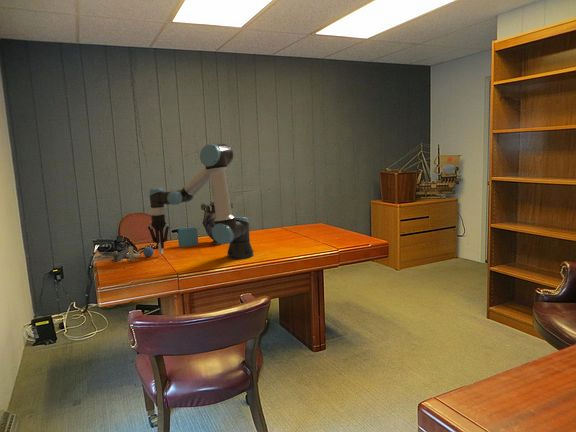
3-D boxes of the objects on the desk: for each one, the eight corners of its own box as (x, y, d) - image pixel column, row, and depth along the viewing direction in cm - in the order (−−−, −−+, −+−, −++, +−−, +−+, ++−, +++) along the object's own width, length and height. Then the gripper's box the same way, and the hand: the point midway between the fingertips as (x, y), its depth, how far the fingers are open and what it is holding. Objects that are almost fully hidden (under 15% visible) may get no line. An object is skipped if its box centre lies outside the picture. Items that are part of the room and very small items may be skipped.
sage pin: (134, 260, 246) (133, 246, 244) (133, 261, 243) (131, 247, 242) (130, 260, 246) (129, 246, 245) (129, 261, 243) (127, 247, 242)
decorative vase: (233, 238, 300) (230, 199, 295) (237, 244, 282) (234, 202, 278) (202, 241, 294) (199, 201, 290) (204, 247, 276) (201, 204, 272)
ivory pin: (140, 252, 253) (127, 252, 254) (138, 255, 251) (125, 255, 252) (141, 255, 254) (128, 255, 256) (140, 258, 252) (127, 258, 254)
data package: (196, 244, 287) (195, 226, 285) (198, 245, 283) (197, 227, 281) (178, 246, 281) (177, 228, 279) (180, 247, 277) (179, 229, 275)
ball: (144, 247, 256) (146, 257, 256) (140, 248, 250) (142, 258, 250) (154, 245, 256) (156, 255, 256) (150, 246, 250) (152, 256, 250)
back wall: (132, 253, 264) (131, 247, 263) (117, 261, 244) (117, 255, 243) (128, 253, 264) (128, 247, 263) (114, 261, 244) (113, 255, 243)
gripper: (170, 213, 252) (173, 252, 256) (149, 213, 253) (152, 252, 256) (166, 214, 245) (169, 254, 248) (144, 215, 246) (147, 255, 249)
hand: (161, 253), depth 252 cm, fingers closed
